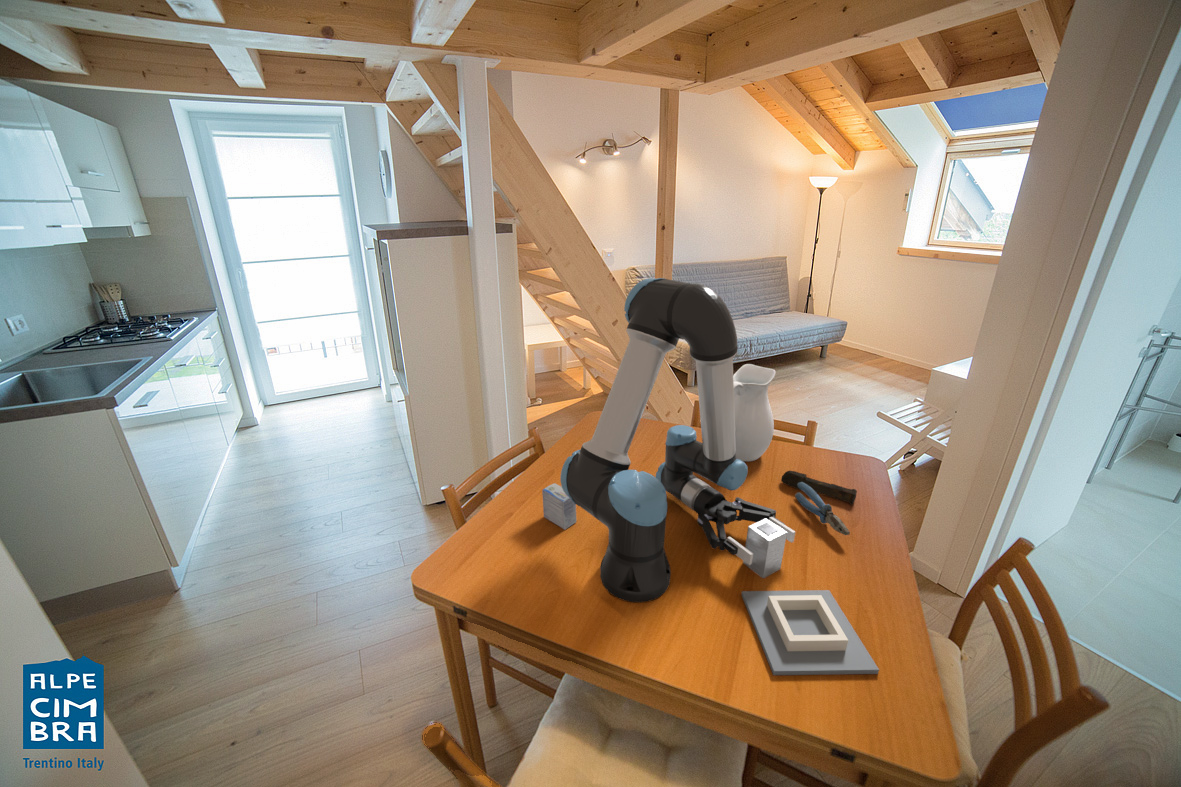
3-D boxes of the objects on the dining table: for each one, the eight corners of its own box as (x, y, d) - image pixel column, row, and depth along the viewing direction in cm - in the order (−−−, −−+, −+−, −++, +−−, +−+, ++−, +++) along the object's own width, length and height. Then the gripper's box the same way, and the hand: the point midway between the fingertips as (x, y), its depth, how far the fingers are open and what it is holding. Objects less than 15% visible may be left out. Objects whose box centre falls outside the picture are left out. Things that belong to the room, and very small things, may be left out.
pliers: (848, 544, 112) (853, 524, 110) (840, 545, 112) (845, 525, 110) (800, 497, 131) (803, 478, 129) (793, 497, 130) (796, 479, 128)
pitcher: (733, 436, 165) (742, 359, 154) (779, 453, 153) (792, 372, 143) (691, 460, 150) (698, 376, 139) (739, 481, 138) (750, 392, 128)
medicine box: (577, 522, 121) (576, 493, 118) (564, 530, 118) (563, 501, 115) (555, 510, 126) (554, 481, 123) (543, 517, 123) (541, 489, 120)
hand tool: (855, 500, 129) (858, 485, 128) (853, 507, 126) (856, 492, 125) (783, 479, 140) (785, 465, 138) (779, 485, 137) (782, 471, 135)
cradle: (773, 675, 81) (776, 660, 80) (741, 594, 98) (743, 581, 97) (877, 673, 82) (882, 659, 80) (828, 593, 98) (831, 580, 97)
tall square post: (762, 578, 102) (769, 540, 99) (743, 563, 107) (748, 525, 103) (780, 569, 105) (787, 531, 101) (760, 554, 110) (766, 517, 106)
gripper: (737, 497, 127) (806, 542, 110) (664, 528, 115) (730, 584, 98) (740, 472, 124) (812, 515, 107) (665, 502, 112) (733, 554, 95)
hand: (773, 548), depth 103 cm, fingers open, 13 cm apart
